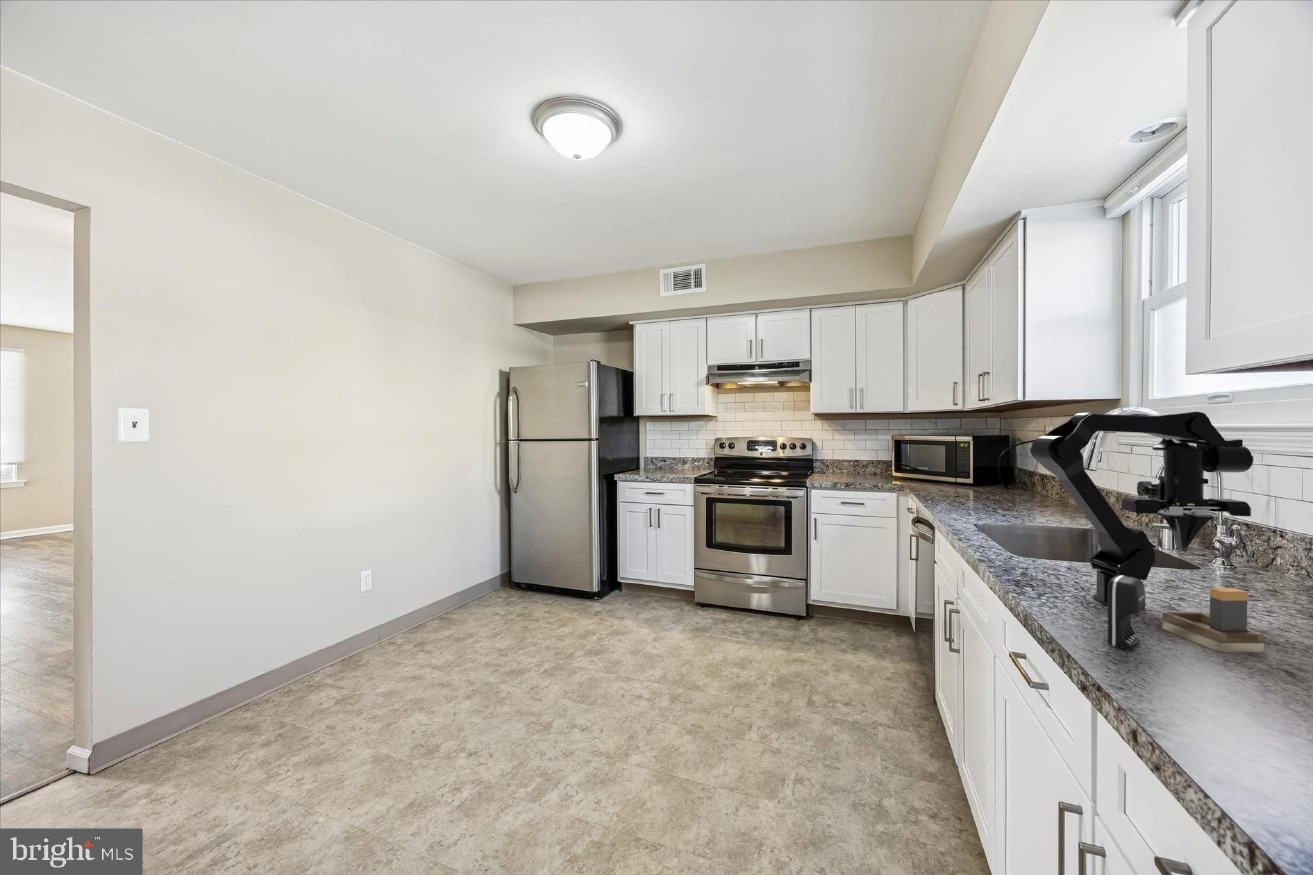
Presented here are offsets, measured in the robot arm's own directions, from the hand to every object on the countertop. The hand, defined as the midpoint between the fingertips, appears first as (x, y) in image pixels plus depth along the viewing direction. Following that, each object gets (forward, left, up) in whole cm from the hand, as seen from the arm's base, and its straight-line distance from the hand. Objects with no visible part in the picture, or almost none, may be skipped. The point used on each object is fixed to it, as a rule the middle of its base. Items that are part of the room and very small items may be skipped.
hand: (1182, 547), depth 108 cm
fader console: (-7, -20, -12) cm, 24 cm away
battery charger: (-22, -26, -12) cm, 36 cm away
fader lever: (-6, -23, -10) cm, 26 cm away
